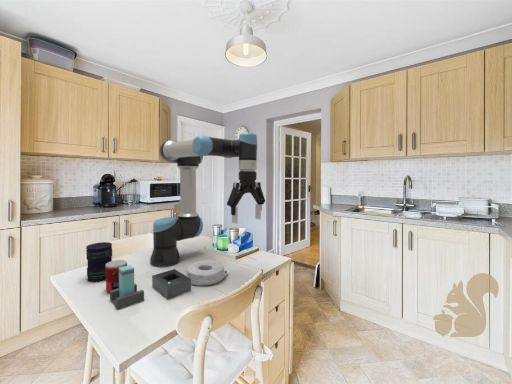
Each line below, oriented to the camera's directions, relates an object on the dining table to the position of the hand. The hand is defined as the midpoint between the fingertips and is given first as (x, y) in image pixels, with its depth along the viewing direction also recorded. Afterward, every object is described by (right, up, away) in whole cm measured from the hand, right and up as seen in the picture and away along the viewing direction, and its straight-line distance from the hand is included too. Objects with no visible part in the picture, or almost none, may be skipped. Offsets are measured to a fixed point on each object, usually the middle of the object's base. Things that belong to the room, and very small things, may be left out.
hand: (246, 220), depth 103 cm
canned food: (-53, -28, -4) cm, 60 cm away
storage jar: (-67, -27, +6) cm, 72 cm away
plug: (-44, -28, -13) cm, 54 cm away
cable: (-19, -28, +8) cm, 34 cm away
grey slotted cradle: (-44, -28, -13) cm, 54 cm away
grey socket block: (-31, -28, -3) cm, 42 cm away
